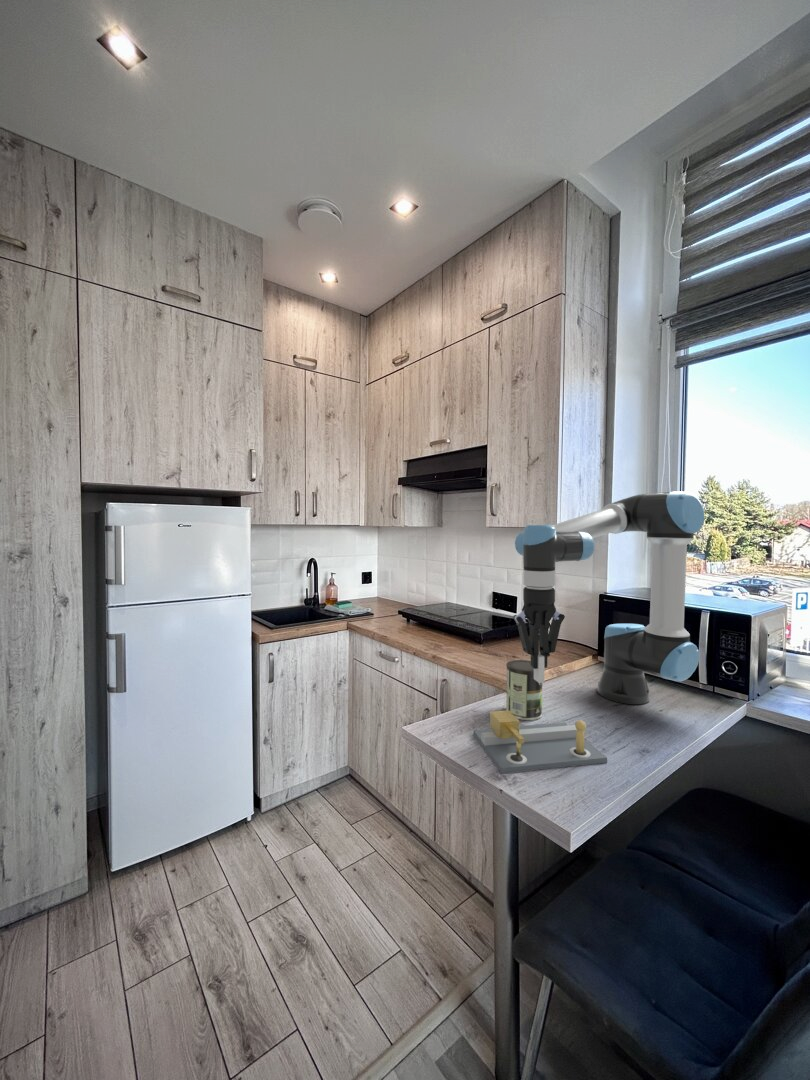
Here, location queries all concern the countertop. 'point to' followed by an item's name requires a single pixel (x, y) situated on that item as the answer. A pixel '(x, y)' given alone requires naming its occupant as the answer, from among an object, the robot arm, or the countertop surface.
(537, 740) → the gauge board
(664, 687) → the countertop surface
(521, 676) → the coffee can
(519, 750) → the pointer
